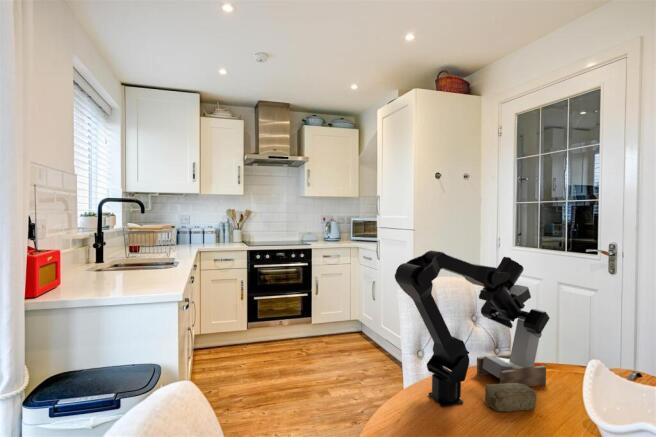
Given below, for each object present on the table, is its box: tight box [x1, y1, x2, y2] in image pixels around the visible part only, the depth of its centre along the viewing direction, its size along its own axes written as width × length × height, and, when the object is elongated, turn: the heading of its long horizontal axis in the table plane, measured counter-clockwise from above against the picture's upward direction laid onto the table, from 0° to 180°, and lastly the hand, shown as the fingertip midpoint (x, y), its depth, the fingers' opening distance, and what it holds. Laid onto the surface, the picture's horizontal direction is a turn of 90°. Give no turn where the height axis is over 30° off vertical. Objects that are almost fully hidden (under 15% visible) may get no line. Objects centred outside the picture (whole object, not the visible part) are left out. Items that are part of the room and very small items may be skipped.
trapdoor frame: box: [476, 353, 547, 388], centre depth 106 cm, size 15×11×5 cm
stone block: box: [484, 383, 537, 413], centre depth 91 cm, size 6×12×5 cm, turn 99°
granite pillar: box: [510, 318, 540, 368], centre depth 108 cm, size 5×5×13 cm
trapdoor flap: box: [482, 355, 523, 379], centre depth 106 cm, size 14×8×4 cm, turn 106°
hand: (525, 331), depth 108 cm, fingers open, 9 cm apart
